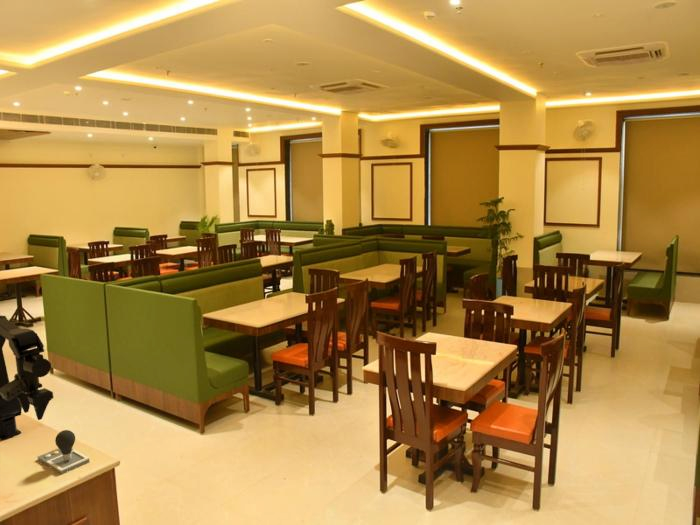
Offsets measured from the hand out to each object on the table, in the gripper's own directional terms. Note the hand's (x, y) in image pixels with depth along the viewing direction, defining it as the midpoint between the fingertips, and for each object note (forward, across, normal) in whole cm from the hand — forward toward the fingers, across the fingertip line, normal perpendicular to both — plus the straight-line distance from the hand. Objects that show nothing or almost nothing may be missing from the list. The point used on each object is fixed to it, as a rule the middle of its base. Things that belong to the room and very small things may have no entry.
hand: (33, 415), depth 186 cm
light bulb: (+12, +15, +2) cm, 19 cm away
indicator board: (+13, +12, +2) cm, 18 cm away
